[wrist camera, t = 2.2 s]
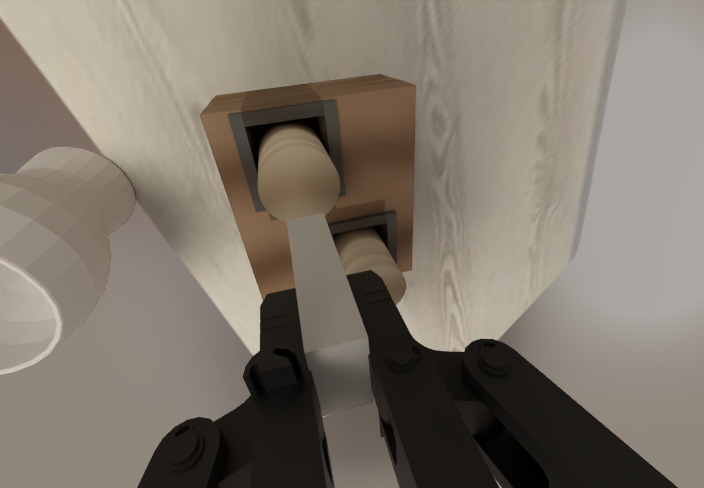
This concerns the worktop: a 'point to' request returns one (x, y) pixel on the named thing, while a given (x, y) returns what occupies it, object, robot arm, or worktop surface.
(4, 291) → the cup
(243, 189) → the walnut block
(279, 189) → the dowel
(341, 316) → the robot arm
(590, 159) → the worktop surface
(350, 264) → the dowel
